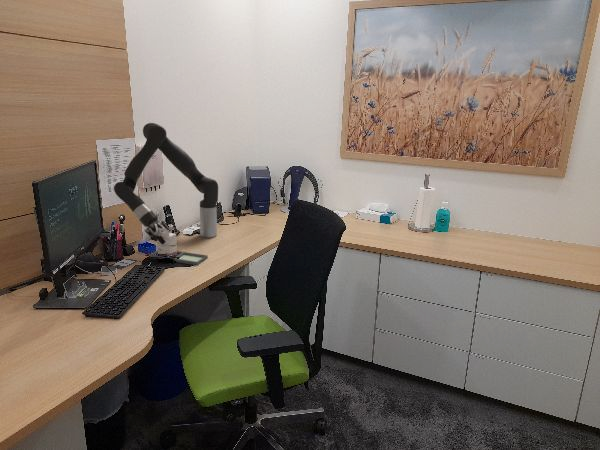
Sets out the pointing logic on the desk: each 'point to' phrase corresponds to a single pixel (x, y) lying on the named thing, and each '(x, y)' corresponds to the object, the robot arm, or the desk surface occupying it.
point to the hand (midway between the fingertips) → (167, 241)
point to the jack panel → (186, 257)
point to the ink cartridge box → (167, 242)
